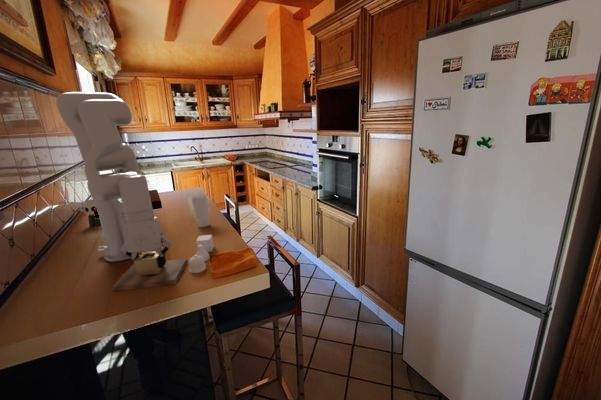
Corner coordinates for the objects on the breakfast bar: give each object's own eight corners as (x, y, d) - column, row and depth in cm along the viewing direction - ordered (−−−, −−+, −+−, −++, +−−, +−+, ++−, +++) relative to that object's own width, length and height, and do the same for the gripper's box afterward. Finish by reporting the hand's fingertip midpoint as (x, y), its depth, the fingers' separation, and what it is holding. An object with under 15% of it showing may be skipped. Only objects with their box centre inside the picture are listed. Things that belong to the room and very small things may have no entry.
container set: (200, 248, 111) (198, 235, 110) (214, 247, 112) (212, 234, 110) (187, 274, 92) (184, 259, 91) (204, 272, 93) (201, 257, 91)
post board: (113, 291, 85) (108, 271, 83) (134, 268, 98) (129, 251, 96) (175, 283, 86) (171, 264, 85) (187, 262, 100) (184, 245, 98)
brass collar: (137, 275, 88) (133, 261, 87) (145, 265, 94) (142, 252, 93) (158, 273, 89) (155, 259, 88) (165, 263, 95) (162, 250, 94)
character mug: (81, 228, 143) (74, 204, 139) (87, 224, 149) (81, 200, 146) (106, 225, 146) (100, 201, 142) (111, 221, 152) (105, 197, 149)
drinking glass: (213, 224, 137) (209, 194, 133) (202, 229, 132) (197, 198, 128) (204, 222, 141) (200, 193, 137) (193, 227, 135) (188, 196, 131)
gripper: (103, 222, 82) (117, 276, 87) (165, 216, 84) (175, 270, 89) (116, 214, 89) (128, 265, 94) (172, 209, 91) (182, 259, 96)
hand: (151, 267), depth 92 cm, fingers closed on brass collar, 6 cm apart
